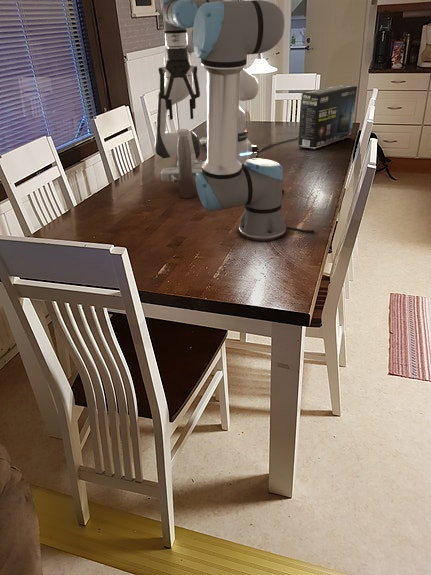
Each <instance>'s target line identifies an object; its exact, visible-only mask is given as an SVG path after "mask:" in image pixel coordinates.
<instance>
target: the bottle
mask: <svg viewBox="0 0 431 575" xmlns="http://www.w3.org/2000/svg"><path fill="white" fill-rule="evenodd" d="M178 137H179V139H178V143H177V144H178V145H177V153H178V156H177V162H178V166H179V179H180V181H179V189H180V190H179V191H180V198H182V199H191V198H194V182H193V181H194V180H192V164H191V148H190V143H189V140H188V136H184V137H180V136H178Z"/></svg>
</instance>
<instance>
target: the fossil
mask: <svg viewBox="0 0 431 575" xmlns="http://www.w3.org/2000/svg"><path fill="white" fill-rule="evenodd" d="M199 144H200V145H202V146H207V136H203V137H201V138H200V139H199Z"/></svg>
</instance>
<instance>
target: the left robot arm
mask: <svg viewBox="0 0 431 575" xmlns="http://www.w3.org/2000/svg"><path fill="white" fill-rule="evenodd" d="M187 41H188V45H187V46H186V48H187V49H188V58H189V63H190V65H191V66H192V63H191V62H192V61H191V57H192V54H195V53H194V48H193V46H194V44H193V27H191V28H187ZM166 49H167V47H166V46H165V48H164V51H163V57H162V58H163V65H162V67H165V66H166V64H167V59H166ZM164 75H165V80H164V95H166V92H167V88H168V84H169V80H170V73H169V72H168V71H167V69H166V73H165V74H164ZM187 76H188V79H189V81H190V84H191V87H192V89H193V88H194V87H193V86H194V78H193V73H192V72H191V69H189V71H188V72H187ZM259 84H260V83H259V80H258V78H257V77H256V76H254V75H252V74H251V73H249V72H248V71H247V70H246V69H245V67H244V68H243V69H242V70H241V72H240V92H239V102H245V101H251V100H254V99H255V98H256V97H257V95H258V93H259V89H260V85H259ZM188 96H190V94H189V91H188V89H187V86H186V84H185V81H184V79H183V78H179V77H178V78H174V82H173V85H172V89H171V93H170V97H169V99H172V106H174V105H176V104H178V103H179V102H182V101H183V100H185V99H186V98H187V97H188ZM167 113H168V110H167V109H166V102H165V99H161V98H160V91H159V92H158V94H157V101H156V120H155V121H156V122H155V139H154V151H155V154H157V156H158V157H161V158H162V159H168V158H172V157H173V158H174V157H178V153H177V145H178V144H177V143H178V139H179V137H178V136H177V131H175V132H173V131H172V132H168V131H167ZM246 124H247V122H246V112H245V111H244V110H243V108H242V107H241V106H240V105H239V117H238V142H237V160H238V161H239V162H240V163H241V165H242V166H243V165H244V163H245V160H248V159H249V158H250V156H251V154H252V153H253V152H254V153H257V154H256V156H255V158H257V156H258V153H262V152H263V151H264V150H265V149H267V148H266V147H265V146H263V147H264V148H263V147H262V148H260V149H259V148H258V145H255V144H252V143H251V141H250V140H249V139H248V134H249V129H247V127H246ZM188 140H189V143H190V148H191V164H192V180H193V181H194V182H195V183H196V181H195V177H196V174H197V173H198V172H202V164H203V162H204V161H205V160H198V158H199V157H200V154H201V149H200V139H199V137H198V135H197V134H196V133H195V132H194V130H193V131H192V130H189V135H188ZM257 150H259V151H257ZM176 163H177V164H176V166H175V167H165V168H163V169H162V170H161V172H160V180H161V181H162V182H172V183H174V184H176V183H177V182H180V179H179V166H178V161H177V162H176Z"/></svg>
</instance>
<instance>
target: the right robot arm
mask: <svg viewBox="0 0 431 575" xmlns="http://www.w3.org/2000/svg"><path fill="white" fill-rule="evenodd" d="M161 9H162V17H163V18H162V21H163V30H164V45H165V48H166V47H167V49H166V59H167V64H166V66H165V67H163V66H160V67H158V74H159V92H160V98H161V99H165V102H166V109H167V111H168V113H169V121H171V120H173V119H174V114H173V113H174V112H173V105H172V99H169V97H170V93H171V89H172V85H173V82H174V78H178V77H179V78H183V79H184V81H185V84H186V86H187V89H188V91H189V96H190V99H189V112H190V113H189V115H190V117H189V118H190V120H194V110H195V109H196V108H197V102H196V100H197V99H198V98H200V96H201V91H200V83H199V77H198V70H199V67H198V65H192V64H191V65H190V63H189V58H188V49H187V48H186V46H187V45H188V41H187V28H191V27H193V44H194V46H193V48H194V53H193V54H194V55H195V56H196V58H198V59H200V65H201V66H202V67H203V68H204V69H205V70H206V137H207V145H206V159H205V160H203V161H204V162H203V164H202V172H198V173H197V174H196V177H195V180H194V182H195V181H196V182H195V187H196V191H197V195H198V198H199V201H200V202H201V205H202V206H203V208H204V209H205V210H207V211H221V210H226V209H231V208H237V207H244V211H243V213H242V215H241V217H240V222H239V226H238V232H239V235H240V236H241V237H242V238H244V239H247V240H250V241H254V242H271V241H277V240H279V239H281V238H283V237H285V235H286V234H287V230H288V231H294V232H300V233H305V234H314V233H315V230H314V229H303V228H302V229H301V228H297V227H290V226H287V223H286V221H285V216H284V214H283V210H282V200H283V194H282V189H283V183H284V174H283V173H284V172H283V171H284V170H283V166H282V164H280V163H279V162H277V161H275V160H271V159H266V158H259V157H258V158H257V157H256V158H252V159H248V160H245V163H244V164H242V165H241V163H240V162H239V161H238V160H237V142H238V117H239V106H240V101H239V92H240V72H241V70H242V69H243V68H244V69H245V67H246V66H247V64H248V62H247V61H248V55H249V56H250V55H257V54H258V55H260V54H263V53H266V52H268V51H270V50H273V49H274V47H276V46H277V45H278V44H279V42H280V41H281V39H282V38H283V36H284V33H285V29H286V19H285V15H284V13H283V11H282V9H281V8H280V7H279V6H278V5H277V4H276V3H274V2H271V1H268V0H161ZM166 69H167V71H168V72H169V73H170V80H169V84H168V88H167V92H166V95H164V80H165V75H164V74H165V73H166ZM189 69H191V72H192V76H193V85H194V89H193V88H192V87H191V84H190V81H189V79H188V76H187V72H188V71H189ZM194 90H195V92H194Z"/></svg>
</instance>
